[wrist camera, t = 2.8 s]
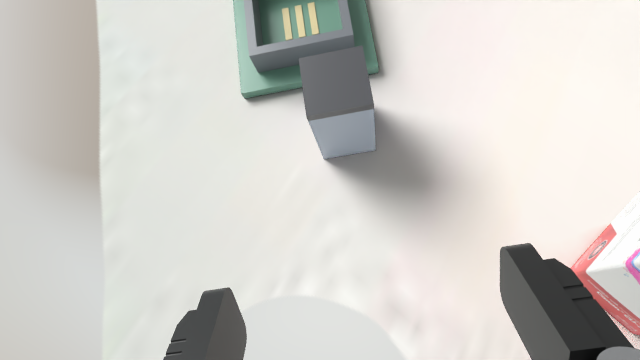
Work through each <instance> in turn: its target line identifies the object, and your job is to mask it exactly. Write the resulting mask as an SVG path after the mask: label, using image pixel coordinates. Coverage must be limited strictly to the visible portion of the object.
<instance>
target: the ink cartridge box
mask: <svg viewBox="0 0 640 360" xmlns="http://www.w3.org/2000/svg"><path fill="white" fill-rule="evenodd" d="M571 269H572V270H573V272H574V273H575V274H576V276H577V277H578V278H579V279H580V281H581V282H582V283H583V286H584V287H586V288H587V289H588V291H589V292H590V293H591V294H592V296H593V299H596V301H597V302H598V303H599V304H600V306H601V307H602V308H604V309H605V310H606V311H607V312H608V313H609V314H611V315H612V316H613V317H614V318H615V319H616V320H618V321H619V322H620V323H621V324H622V325H623V326H625V327H626V328H627V329H628V330H629V331H630V332H632V333H633V334H636V335H640V191H639V192H638V194H637V195H636V196H635V197H634V198H633V199H632V200H631V201H630V202H629V204H628V205H627V206H626V207H625V208H624V209H623V210H622V211H621V212H620V213H619V215H618V216H617V217H616V218H615V219H614V220H613V221H612V222H611V224H610V225H609V226H608V227H607V228H606V229H605V230H604V231H603V232H602V234H601V235H600V236H599V237H598V238H597V239H596V240H595V241H594V243H593V244H592V245H591V246H590V247H589V248H588V249H587V250H586V251H585V253H584V254H583V255H582V256H581V257H580V258H579V259H578V260H577V262H576V263H575V264H574V265H573V266H572V267H571Z"/></svg>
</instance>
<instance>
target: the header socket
mask: <svg viewBox="0 0 640 360" xmlns="http://www.w3.org/2000/svg"><path fill="white" fill-rule="evenodd" d="M233 5H234V17H235V28H236V40H237V51H238V63H239V74H240V86H241V94H242V95H243V97H244V98H250V97H255V96H260V95H265V94H270V93H276V92H281V91H286V90H291V89H296V88H301V87H302V80H301V73H300V66H299V58H303V57H308V56H312V55H317V54H322V53H327V52H332V51H337V50H342V49H347V48H352V47H357V46H362V45H363V51H364V56H365V61H366V66H367V71H368V74H373V73H378V62H377V57H376V52H375V47H374V42H373V37H372V32H371V27H370V22H369V18H368V13H367V8H366V3H365V0H233Z"/></svg>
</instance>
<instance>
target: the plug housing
mask: <svg viewBox="0 0 640 360" xmlns="http://www.w3.org/2000/svg"><path fill="white" fill-rule="evenodd" d="M299 66H300V73H301V80H302V87H303V95H304V102H305V109H306V117H307V119H308V121H309V124H310V126H311V129H312V131H313V134H314V136H315V139H316V141H317V143H318V146H319V148H320V151H321V153H322V156H323V158H324V159H328V158H334V157H340V156H345V155H351V154H357V153H362V152H368V151H374V150H376V143H375V121H374V103H373V97H372V92H371V87H370V82H369V77H368V71H367V66H366V61H365V56H364V51H363V45H362V46H357V47H352V48H347V49H342V50H337V51H332V52H327V53H322V54H317V55H312V56H308V57H303V58H299Z"/></svg>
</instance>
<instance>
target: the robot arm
mask: <svg viewBox="0 0 640 360" xmlns="http://www.w3.org/2000/svg"><path fill="white" fill-rule="evenodd" d="M500 292H501V297H502V301H503V304H504V306H505V309H506V311H507V313H508V315H509V317H510V319H511V320H512V322H513V324H514V326H515V328H516V330H517V332H518V334H519V336H520V338H521V340H522V342H523V344H524V346H525V347H526V349H527V351H528V353H529V355H530V357H531V359H532V360H640V350H639V349H635V348H634V347H633V346H632V345H631V344H630V342H629V341H628V340H627V338H626V337H625V336H624V335H623V333H622V332H621V331H620V330H619V328H618V327H617V326H616V325H615V323H614V322H613V321H612V320H611V318H610V317H609V316H608V315H607V313H606V312H605V311H604V310H603V308H602V307H601V306H600V304H599V303H598V302H597V301H596V299H593V296H592V294H591V293H590V292H589V291H588V289H587V288H586V287H584V286H583V283H582V282H581V281H580V279H579V278H578V277H577V276H576V274H575V273H574V272H573V270H572V269H570V268H568V267H567V266H565V265H564V264H562V263H561V262H559V261H558V260H556V259H554V258H553V259H546V260H543V259H542V258H541V256H540V255H539V254H538V252H537V251H536V250H535V248H534V247H533V246H532V245H531V244H530V243H526V244H519V245H513V246H506V247H502V248H501V250H500ZM246 337H247V336H246V327H245V323H244V320H243V317H242V315H241V312H240V310H239V307H238V305H237V302H236V300H235V297H234V295H233V292H232V290H231V289H230V288H222V289H215V290H209V291H204V292H203V294H202V296H201V299H200V302H199V305H198V307H197V310H192V311H188V313H187V314H186V315H185V316H184V317H183V319H182V320H181V321H180V322H179V323H178V325H177V327H176V329H175V332H174V334H173V337H172V339H171V344H169V347H168V349H167V352H166V357H164V359H163V360H243V357H244V352H245V347H246V339H247V338H246Z"/></svg>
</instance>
